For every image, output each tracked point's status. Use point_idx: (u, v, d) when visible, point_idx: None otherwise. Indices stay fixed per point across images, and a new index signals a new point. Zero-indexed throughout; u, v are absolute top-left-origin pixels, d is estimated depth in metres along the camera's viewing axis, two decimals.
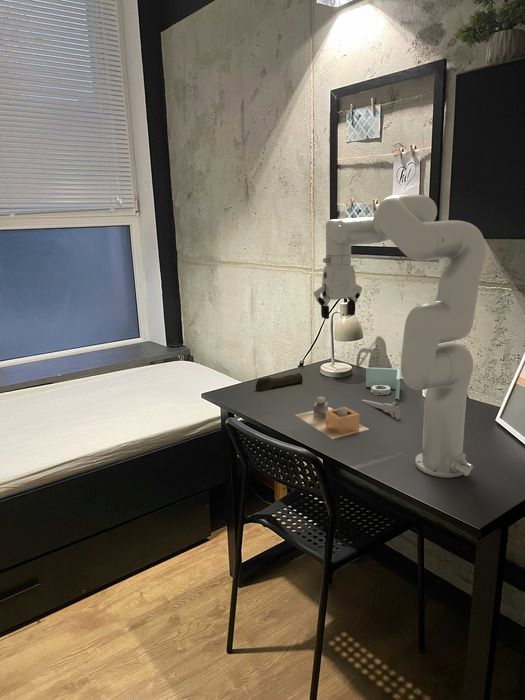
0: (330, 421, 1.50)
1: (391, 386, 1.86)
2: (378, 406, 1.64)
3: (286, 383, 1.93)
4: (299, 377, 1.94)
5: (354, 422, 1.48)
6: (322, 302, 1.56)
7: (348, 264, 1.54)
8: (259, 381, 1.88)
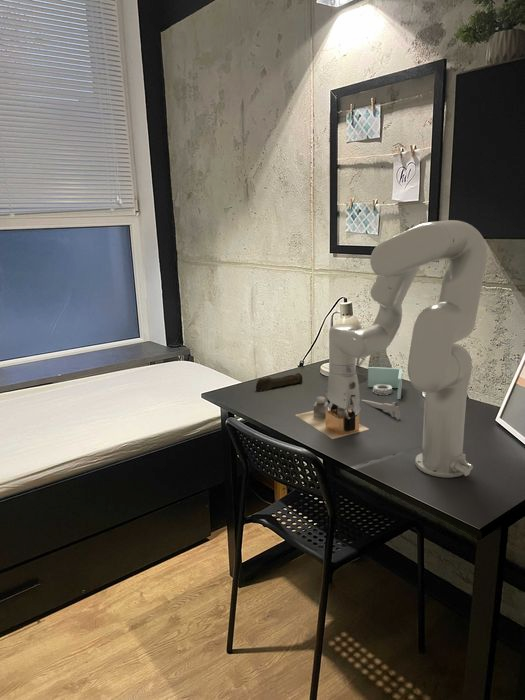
0: (330, 421, 1.50)
1: (393, 386, 1.86)
2: (378, 406, 1.64)
3: (286, 383, 1.93)
4: (299, 377, 1.95)
5: None
6: None
7: None
8: (259, 381, 1.88)
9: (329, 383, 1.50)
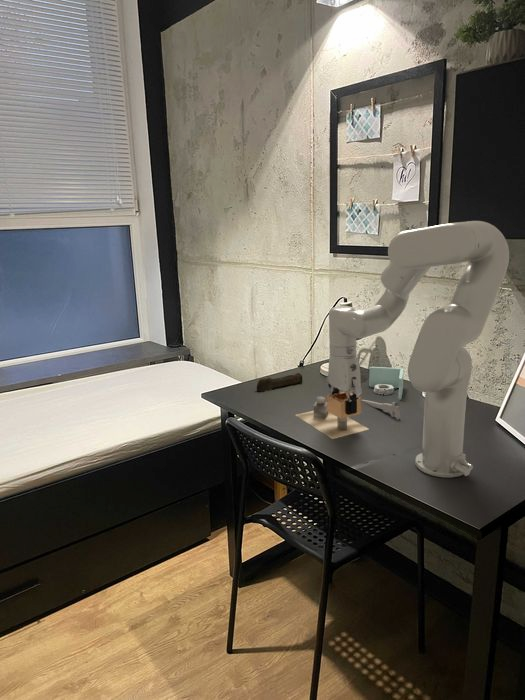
0: (332, 405, 1.48)
1: (394, 385, 1.86)
2: (378, 406, 1.65)
3: (286, 383, 1.93)
4: (299, 377, 1.95)
5: None
6: None
7: None
8: (260, 382, 1.88)
9: (330, 366, 1.48)
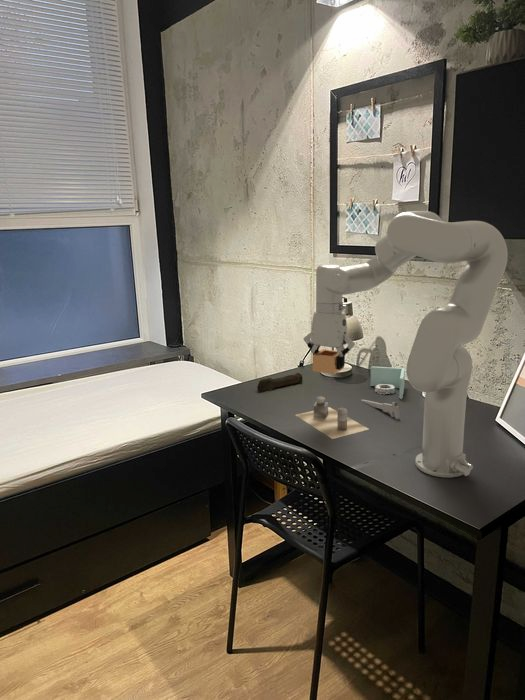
0: (321, 363, 1.50)
1: (395, 385, 1.87)
2: (378, 406, 1.65)
3: (287, 383, 1.92)
4: (299, 377, 1.95)
5: None
6: None
7: None
8: (261, 382, 1.87)
9: (315, 325, 1.49)
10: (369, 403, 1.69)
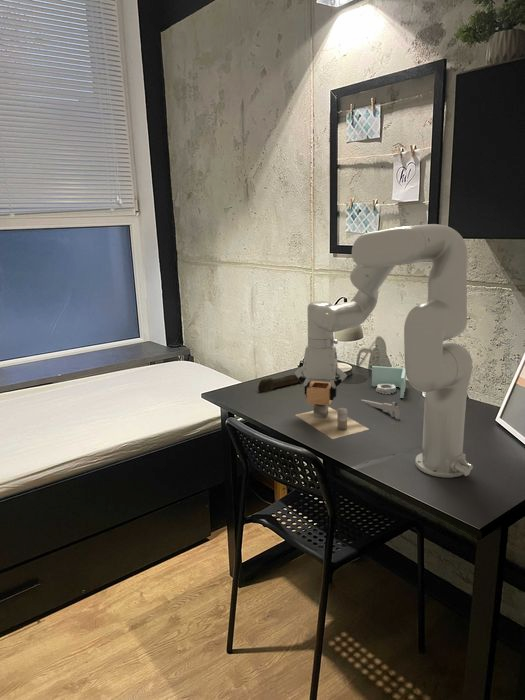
0: (315, 395, 1.56)
1: (397, 385, 1.87)
2: (378, 406, 1.65)
3: (287, 383, 1.92)
4: None
5: None
6: None
7: None
8: (262, 382, 1.87)
9: (308, 360, 1.56)
10: (369, 403, 1.69)
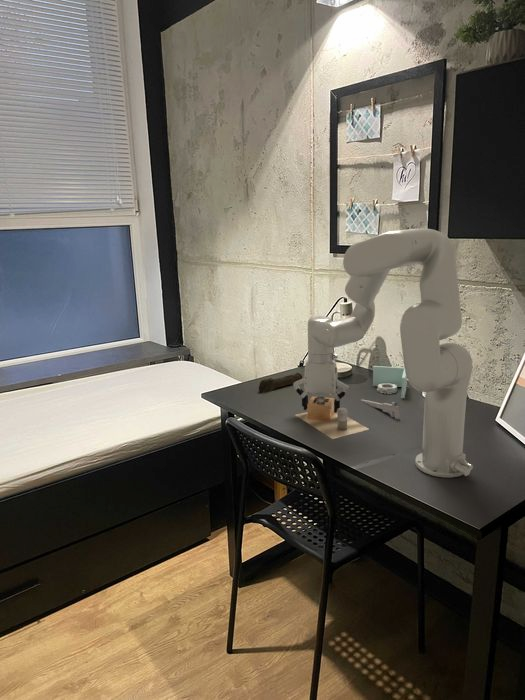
0: (316, 411, 1.58)
1: (398, 385, 1.87)
2: (377, 406, 1.65)
3: (287, 383, 1.92)
4: (299, 377, 1.95)
5: (333, 406, 1.61)
6: None
7: None
8: (262, 383, 1.87)
9: (308, 375, 1.57)
10: (369, 403, 1.69)
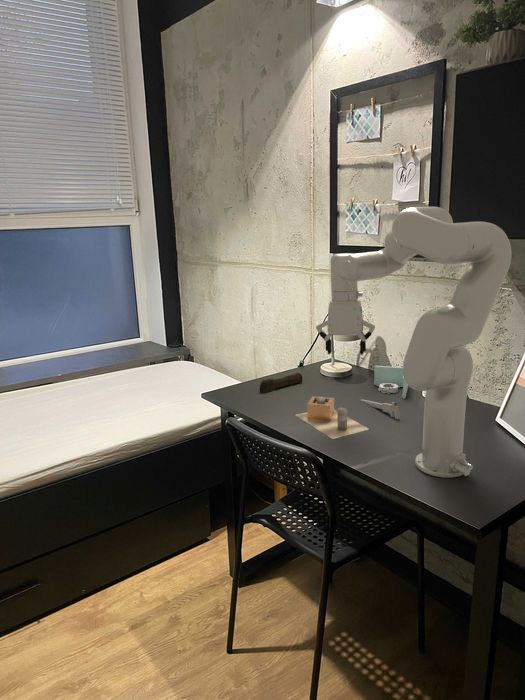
0: (316, 411, 1.58)
1: (399, 385, 1.87)
2: (377, 406, 1.65)
3: (287, 383, 1.92)
4: (299, 377, 1.95)
5: (333, 406, 1.61)
6: None
7: None
8: (263, 383, 1.86)
9: (332, 315, 1.50)
10: (369, 403, 1.69)
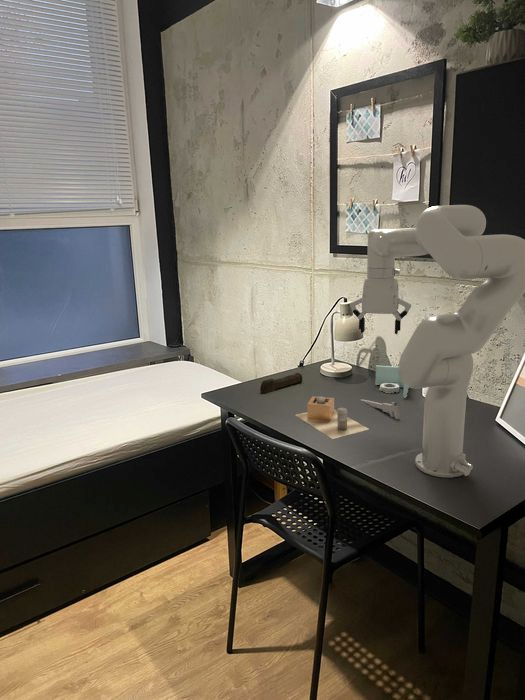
0: (316, 411, 1.58)
1: (400, 384, 1.87)
2: (377, 406, 1.65)
3: (288, 383, 1.92)
4: (299, 377, 1.95)
5: (333, 406, 1.61)
6: None
7: None
8: (264, 383, 1.86)
9: (367, 292, 1.46)
10: (369, 403, 1.69)
